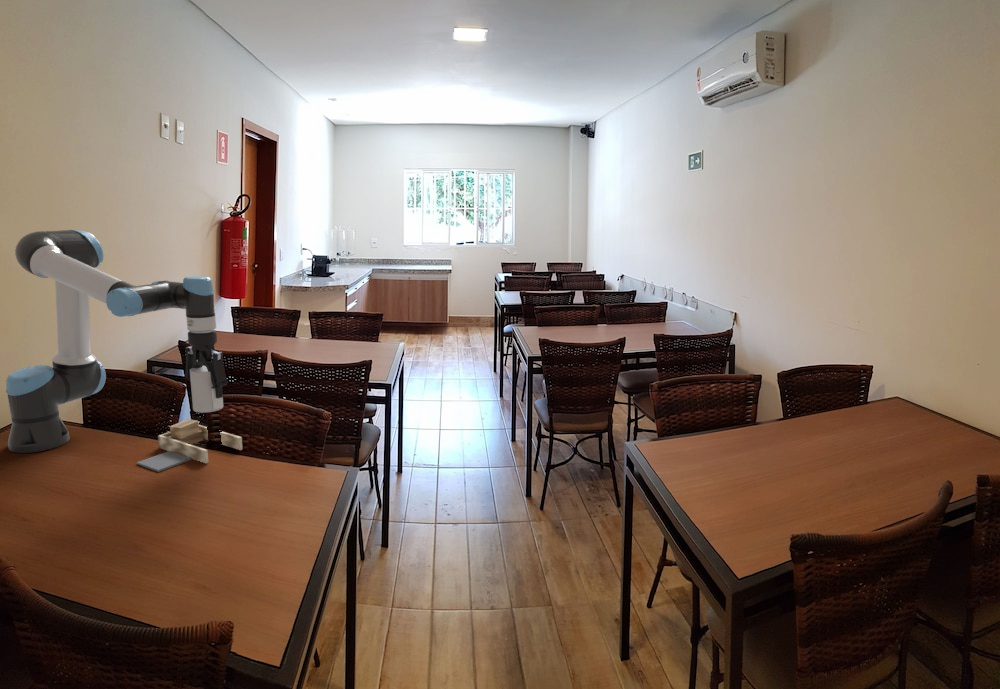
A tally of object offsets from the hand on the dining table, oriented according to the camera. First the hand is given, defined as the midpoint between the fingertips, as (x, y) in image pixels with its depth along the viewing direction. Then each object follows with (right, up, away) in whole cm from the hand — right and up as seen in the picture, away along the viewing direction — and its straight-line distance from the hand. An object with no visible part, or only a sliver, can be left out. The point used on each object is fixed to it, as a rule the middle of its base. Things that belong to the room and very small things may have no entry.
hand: (208, 405), depth 183 cm
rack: (-5, -14, +6) cm, 16 cm away
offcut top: (-11, -10, +9) cm, 18 cm away
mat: (-11, -16, -4) cm, 20 cm away
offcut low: (-12, -13, +10) cm, 20 cm away
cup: (0, -1, 0) cm, 1 cm away
